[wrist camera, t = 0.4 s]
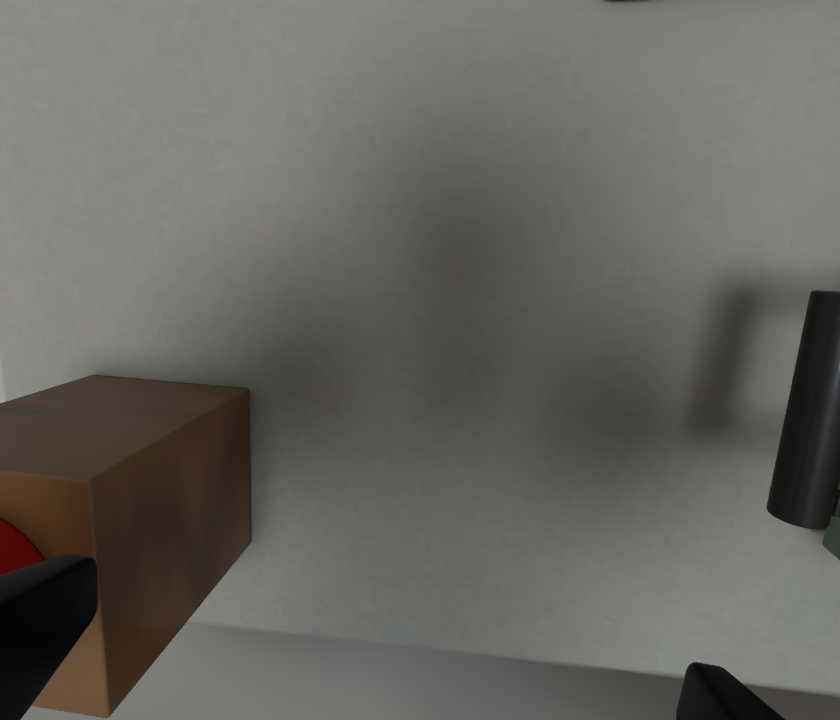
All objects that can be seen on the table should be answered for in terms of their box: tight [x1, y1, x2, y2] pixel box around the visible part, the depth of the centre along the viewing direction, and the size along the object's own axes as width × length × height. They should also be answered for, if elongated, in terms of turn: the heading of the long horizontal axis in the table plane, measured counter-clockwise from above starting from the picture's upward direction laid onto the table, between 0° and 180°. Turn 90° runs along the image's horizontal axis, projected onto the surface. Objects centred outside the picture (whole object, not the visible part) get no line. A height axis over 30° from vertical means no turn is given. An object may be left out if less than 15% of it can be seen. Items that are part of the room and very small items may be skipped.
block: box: [0, 375, 250, 718], centre depth 18 cm, size 7×7×9 cm
